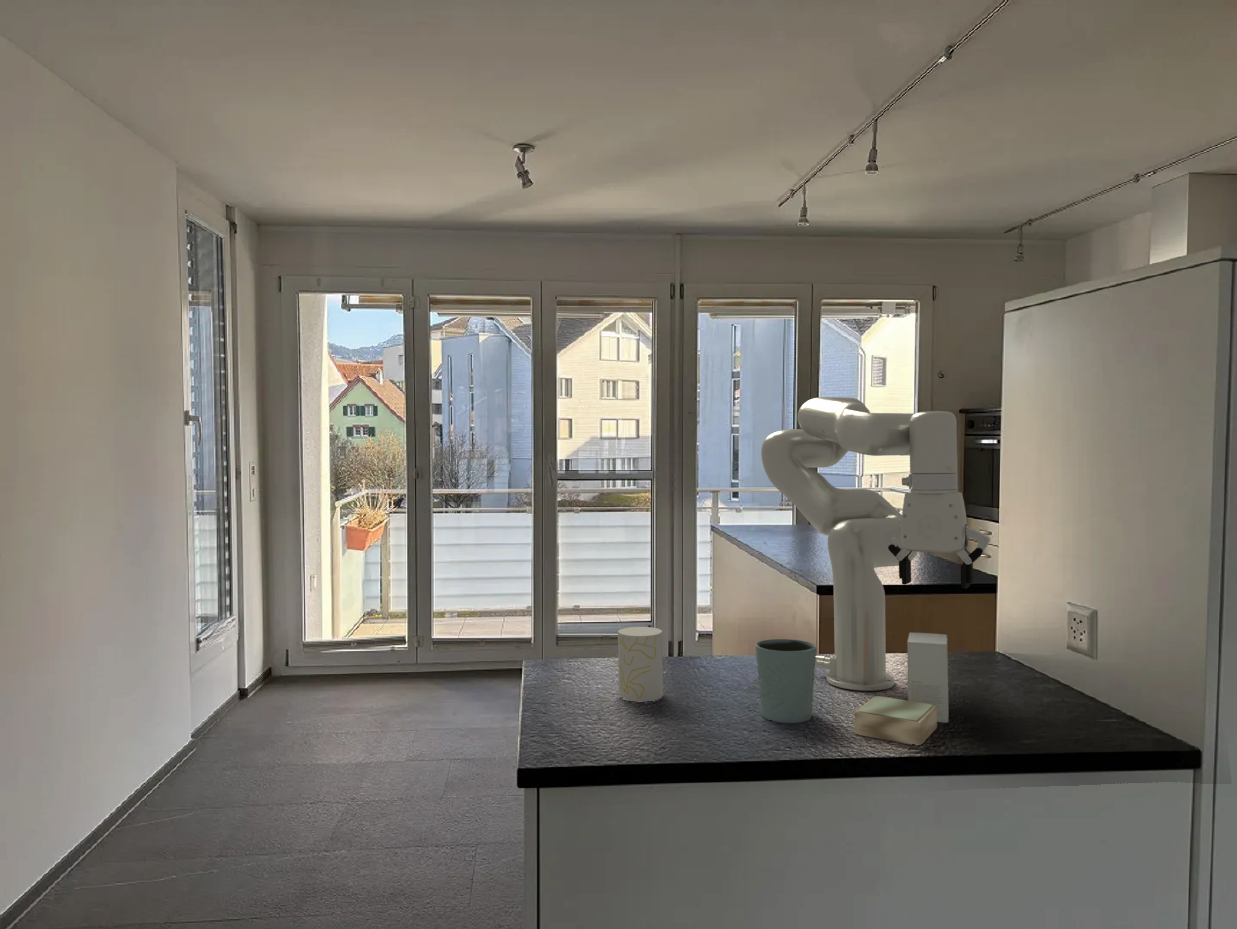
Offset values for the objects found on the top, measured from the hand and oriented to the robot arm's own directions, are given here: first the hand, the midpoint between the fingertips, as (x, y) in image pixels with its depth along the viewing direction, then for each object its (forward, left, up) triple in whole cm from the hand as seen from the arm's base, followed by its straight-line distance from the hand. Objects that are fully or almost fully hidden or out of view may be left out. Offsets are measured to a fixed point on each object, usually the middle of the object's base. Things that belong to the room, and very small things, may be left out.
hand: (935, 585), depth 140 cm
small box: (-1, -1, -22) cm, 22 cm away
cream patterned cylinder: (-48, -18, -22) cm, 56 cm away
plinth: (-3, -13, -22) cm, 25 cm away
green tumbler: (-21, -14, -22) cm, 34 cm away
